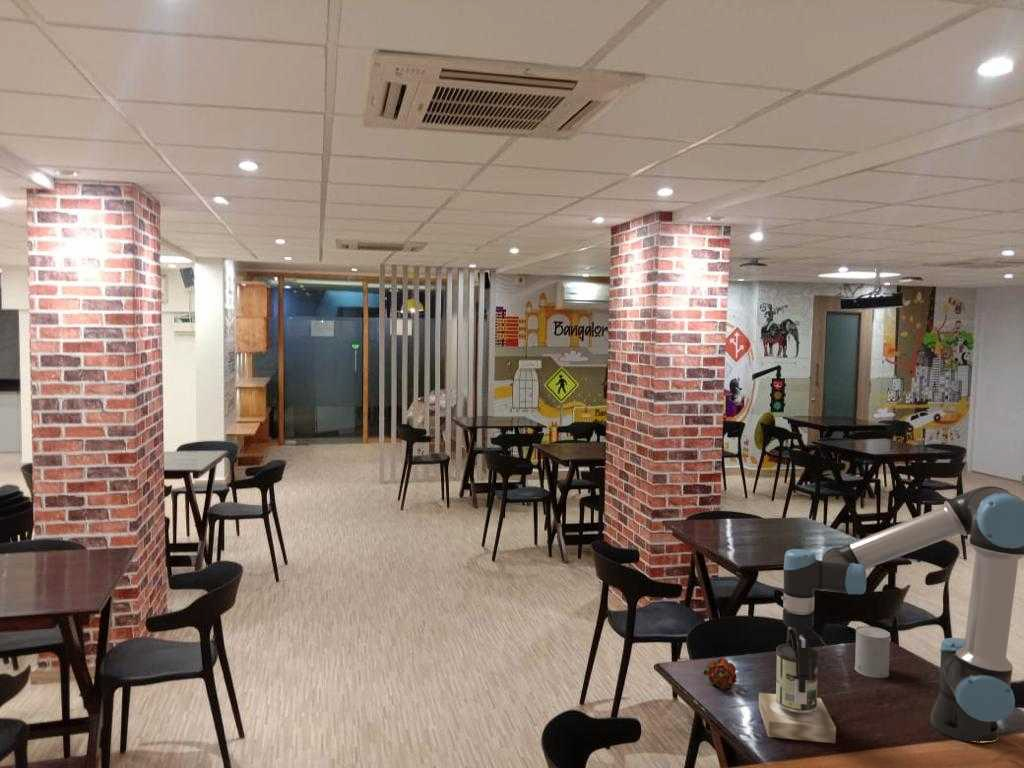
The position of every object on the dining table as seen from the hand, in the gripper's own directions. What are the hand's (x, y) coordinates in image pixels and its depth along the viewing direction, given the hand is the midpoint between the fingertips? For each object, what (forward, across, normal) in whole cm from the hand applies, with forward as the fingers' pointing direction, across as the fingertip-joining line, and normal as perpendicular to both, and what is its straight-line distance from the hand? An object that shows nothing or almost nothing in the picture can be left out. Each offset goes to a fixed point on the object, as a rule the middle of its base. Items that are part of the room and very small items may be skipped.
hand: (796, 693), depth 192 cm
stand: (+8, 0, 0) cm, 8 cm away
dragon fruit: (+8, -20, -17) cm, 28 cm away
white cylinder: (+8, -39, +30) cm, 50 cm away
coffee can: (+3, 0, 0) cm, 3 cm away
